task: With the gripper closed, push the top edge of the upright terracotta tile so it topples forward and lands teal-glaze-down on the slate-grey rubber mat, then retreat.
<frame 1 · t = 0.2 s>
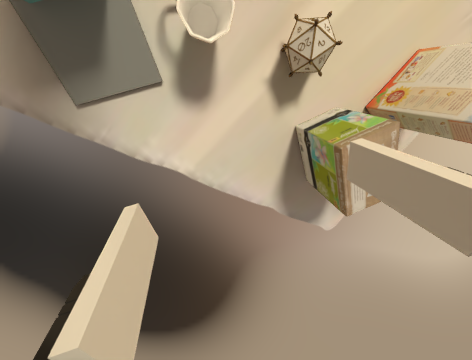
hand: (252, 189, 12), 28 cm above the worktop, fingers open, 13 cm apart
cup: (194, 16, 29), on the worktop
cracker box: (394, 88, 41), on the worktop
mat: (81, 15, 26), on the worktop
tea box: (319, 147, 44), on the worktop
game die: (296, 50, 34), on the worktop
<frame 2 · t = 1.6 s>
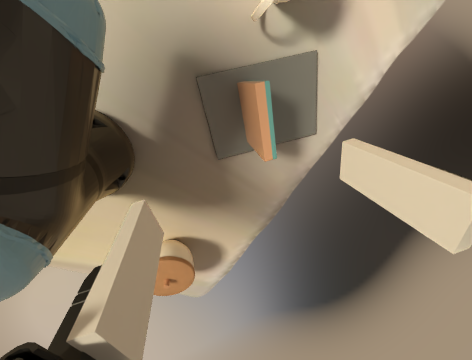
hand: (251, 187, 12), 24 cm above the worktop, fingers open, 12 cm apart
lidded jar: (171, 248, 45), on the worktop
tile: (247, 113, 33), point 1 cm above the worktop, touching mat
mat: (262, 108, 34), on the worktop
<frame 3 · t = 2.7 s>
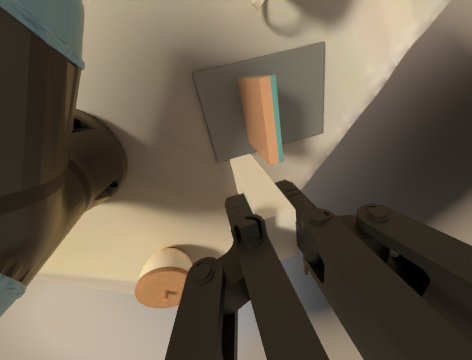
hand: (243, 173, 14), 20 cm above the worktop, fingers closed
lidded jar: (169, 256, 42), on the worktop
tile: (249, 111, 30), point 1 cm above the worktop, touching mat
mat: (265, 106, 31), on the worktop
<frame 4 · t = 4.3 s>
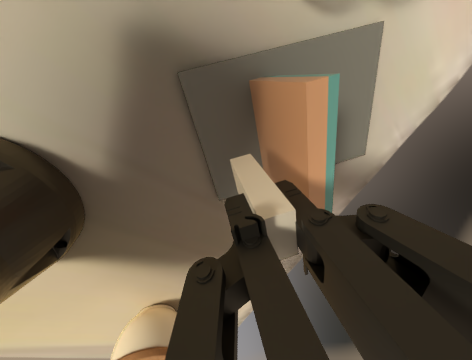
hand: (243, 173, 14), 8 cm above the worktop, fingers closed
lidded jar: (157, 313, 32), on the worktop
tile: (265, 129, 20), point 1 cm above the worktop, touching mat
mat: (288, 121, 21), on the worktop
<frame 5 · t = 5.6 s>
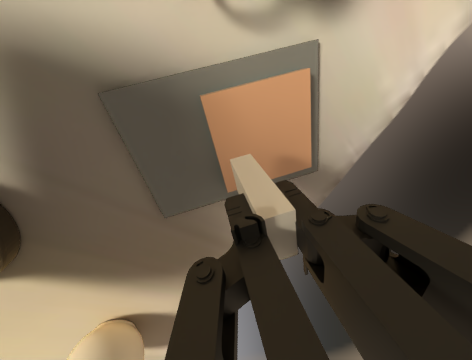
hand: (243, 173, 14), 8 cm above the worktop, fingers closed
lidded jar: (116, 328, 32), on the worktop
tile: (214, 148, 19), point 1 cm above the worktop, tilted 90°, touching mat
mat: (230, 138, 21), on the worktop
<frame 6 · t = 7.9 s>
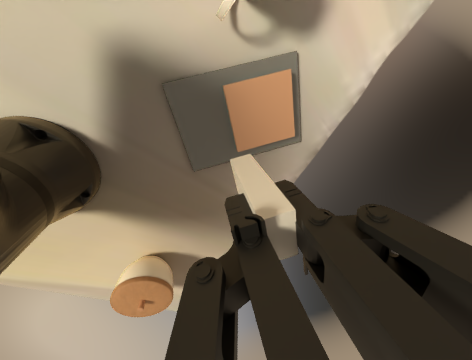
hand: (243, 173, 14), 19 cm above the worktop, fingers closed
lidded jar: (150, 264, 42), on the worktop
tile: (230, 120, 29), point 1 cm above the worktop, tilted 90°, touching mat
mat: (240, 115, 31), on the worktop
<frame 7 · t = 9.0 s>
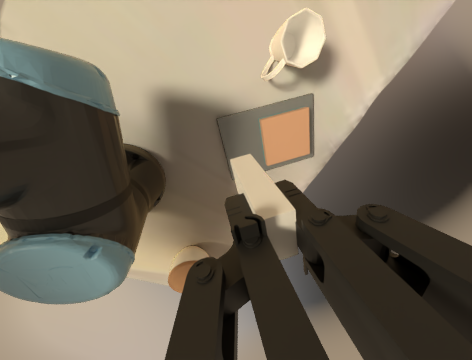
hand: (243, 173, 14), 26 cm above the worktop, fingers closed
cup: (274, 55, 34), on the worktop
lidded jar: (191, 253, 52), on the worktop
tile: (263, 143, 40), point 1 cm above the worktop, tilted 90°, touching mat
mat: (269, 139, 41), on the worktop
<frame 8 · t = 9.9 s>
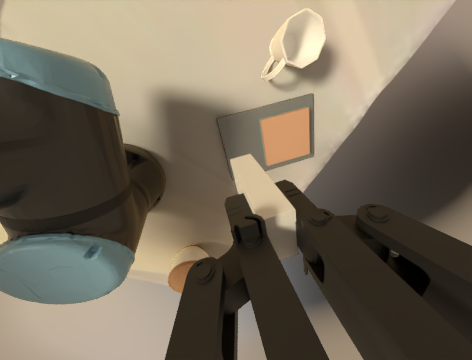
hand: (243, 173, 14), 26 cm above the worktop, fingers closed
cup: (274, 55, 34), on the worktop
lidded jar: (191, 253, 52), on the worktop
tile: (263, 143, 40), point 1 cm above the worktop, tilted 90°, touching mat
mat: (269, 139, 41), on the worktop
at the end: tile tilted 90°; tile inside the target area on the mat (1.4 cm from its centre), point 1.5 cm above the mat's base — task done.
